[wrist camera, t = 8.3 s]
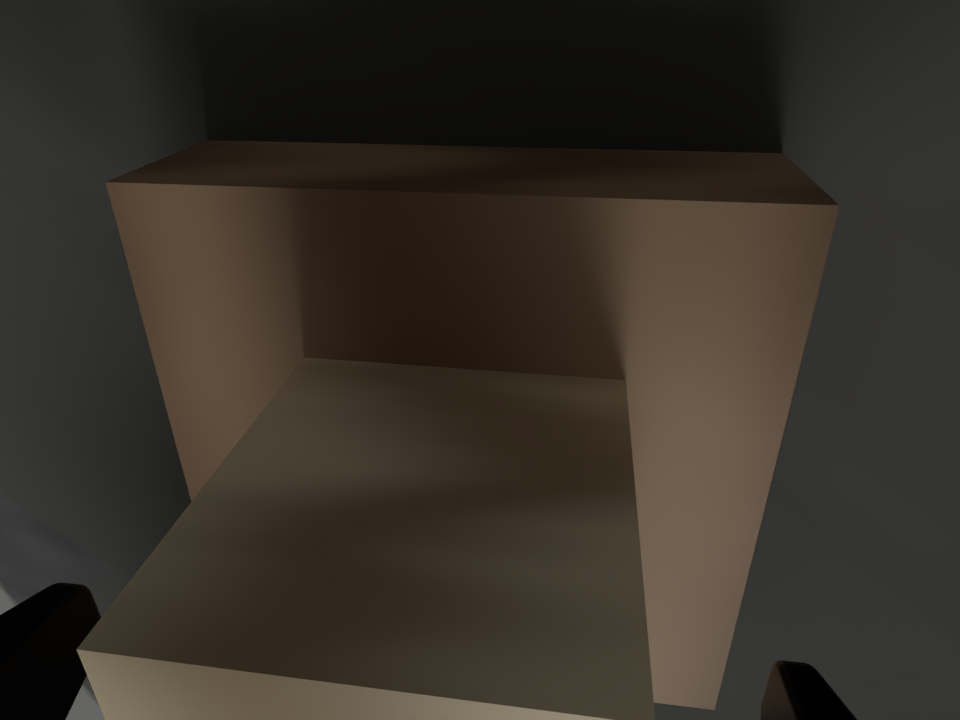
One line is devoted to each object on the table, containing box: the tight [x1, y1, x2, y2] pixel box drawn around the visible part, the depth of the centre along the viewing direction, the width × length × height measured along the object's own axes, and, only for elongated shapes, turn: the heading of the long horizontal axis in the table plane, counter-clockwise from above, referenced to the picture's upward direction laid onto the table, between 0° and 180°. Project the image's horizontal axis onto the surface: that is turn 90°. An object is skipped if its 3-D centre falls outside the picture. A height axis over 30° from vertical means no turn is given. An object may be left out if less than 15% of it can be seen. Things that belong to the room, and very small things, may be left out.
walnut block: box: [106, 140, 840, 710], centre depth 13 cm, size 10×10×4 cm
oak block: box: [76, 358, 655, 720], centre depth 9 cm, size 5×5×6 cm
